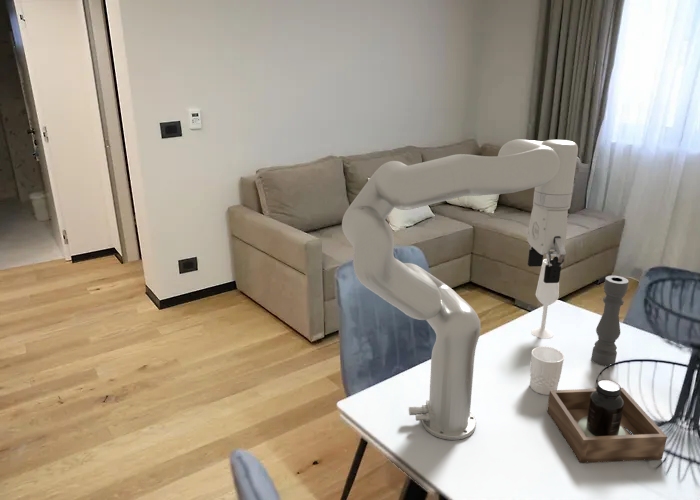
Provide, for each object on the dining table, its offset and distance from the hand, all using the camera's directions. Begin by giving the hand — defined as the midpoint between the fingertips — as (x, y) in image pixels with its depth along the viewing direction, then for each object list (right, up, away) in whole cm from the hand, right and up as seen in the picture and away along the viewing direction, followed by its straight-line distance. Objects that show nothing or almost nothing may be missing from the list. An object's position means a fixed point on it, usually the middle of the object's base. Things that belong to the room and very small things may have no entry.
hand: (542, 273), depth 122 cm
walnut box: (+15, -37, +4) cm, 40 cm away
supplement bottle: (+15, -36, +3) cm, 39 cm away
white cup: (+8, -31, +21) cm, 38 cm away
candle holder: (+29, -26, +34) cm, 52 cm away
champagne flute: (+17, -21, +49) cm, 56 cm away
